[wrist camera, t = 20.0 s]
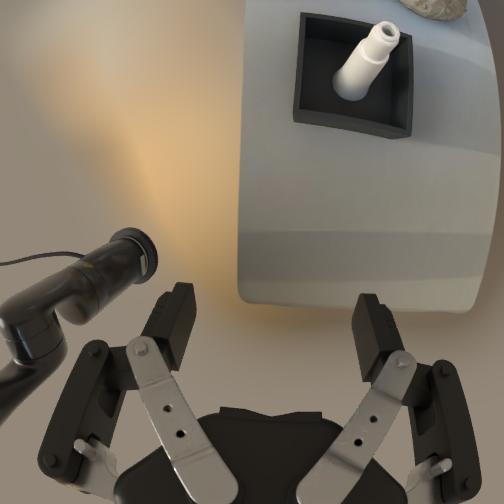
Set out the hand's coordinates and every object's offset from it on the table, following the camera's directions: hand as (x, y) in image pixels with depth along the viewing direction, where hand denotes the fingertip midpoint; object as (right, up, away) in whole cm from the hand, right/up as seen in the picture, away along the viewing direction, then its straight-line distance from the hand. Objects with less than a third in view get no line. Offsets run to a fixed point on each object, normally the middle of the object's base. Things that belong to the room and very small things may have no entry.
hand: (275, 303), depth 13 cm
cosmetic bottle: (+15, +29, +24) cm, 41 cm away
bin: (+14, +30, +24) cm, 41 cm away
